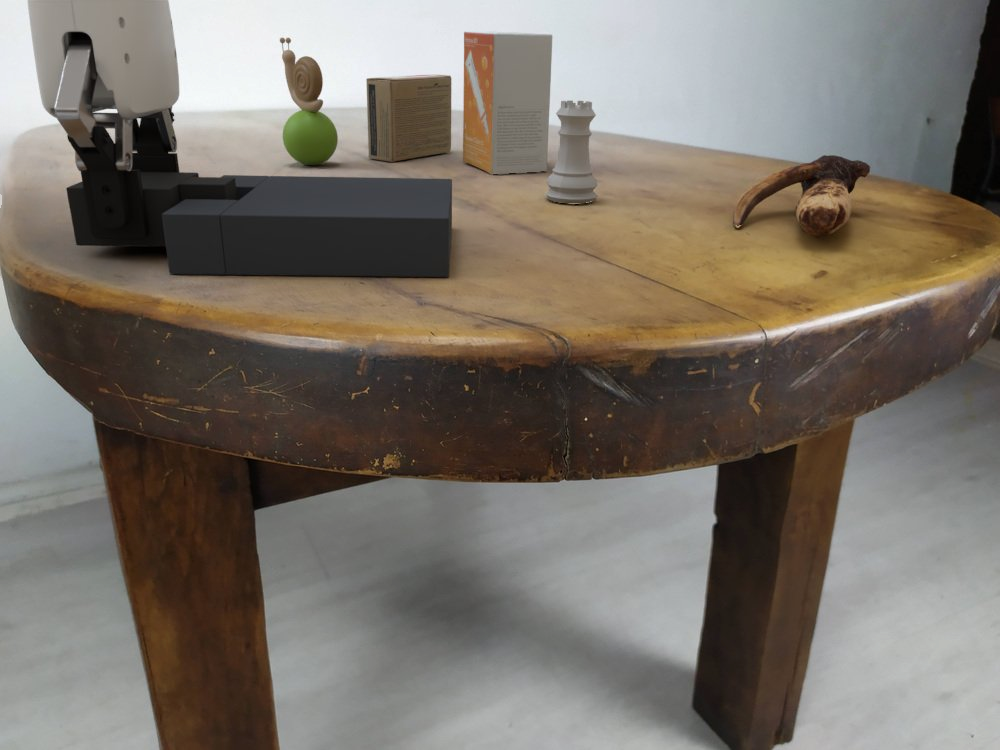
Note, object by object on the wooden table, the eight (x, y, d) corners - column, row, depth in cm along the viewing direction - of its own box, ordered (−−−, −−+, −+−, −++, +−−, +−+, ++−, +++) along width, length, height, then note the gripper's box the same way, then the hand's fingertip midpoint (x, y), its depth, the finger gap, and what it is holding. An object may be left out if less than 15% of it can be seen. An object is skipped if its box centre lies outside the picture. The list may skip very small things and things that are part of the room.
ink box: (427, 149, 97) (427, 73, 94) (453, 153, 95) (453, 75, 92) (366, 159, 90) (363, 76, 86) (392, 163, 88) (390, 78, 84)
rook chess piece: (582, 207, 68) (589, 105, 65) (535, 200, 70) (539, 101, 67) (606, 199, 72) (613, 102, 69) (560, 193, 74) (565, 98, 71)
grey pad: (169, 274, 48) (161, 213, 46) (228, 224, 60) (223, 174, 58) (448, 277, 48) (448, 217, 47) (451, 227, 60) (451, 178, 59)
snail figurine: (314, 158, 89) (307, 37, 85) (349, 165, 85) (343, 39, 80) (269, 162, 86) (259, 37, 81) (303, 170, 82) (294, 39, 77)
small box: (461, 162, 89) (462, 30, 84) (516, 160, 91) (520, 31, 86) (490, 175, 82) (493, 32, 77) (548, 172, 84) (555, 33, 79)
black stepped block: (75, 245, 50) (65, 187, 49) (114, 224, 56) (105, 171, 54) (223, 247, 51) (216, 189, 49) (246, 225, 56) (241, 173, 55)
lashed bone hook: (749, 203, 74) (718, 241, 58) (755, 148, 72) (725, 172, 57) (863, 209, 71) (862, 252, 55) (871, 152, 69) (874, 179, 53)
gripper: (89, -82, 54) (131, 198, 61) (-69, -126, 38) (13, 260, 45) (207, -78, 54) (235, 200, 61) (100, -121, 38) (154, 261, 45)
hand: (140, 222), depth 53 cm, fingers closed on black stepped block, 6 cm apart
